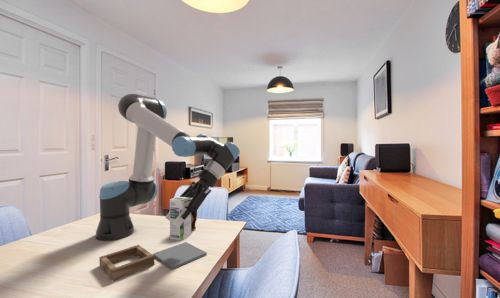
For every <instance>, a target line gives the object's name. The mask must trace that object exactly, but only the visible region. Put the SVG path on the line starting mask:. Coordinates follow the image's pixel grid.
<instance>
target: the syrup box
mask: <svg viewBox="0 0 500 298" xmlns="http://www.w3.org/2000/svg"><path fill="white" fill-rule="evenodd" d="M191 199H192V198H187V197H180V196H175V197H173V198H170V199H169V212H170V221H169V239H170V240H172V239H173V240H177V241H184V240H186V239H187V238H189V237H190V236H191V235H192V231H191V213H190V214H189V216H188V217H187V218H186V219H185V221H184V222H183V223H182V224H181V226H180V227H179V228H177V227H176V226H175V225H173V224H172V223H173V222H174V220H175V219H176V218H177V217H178V216H179V214H180V213H181V212H182V211H183V210H184V208H185V207H186V206H188V205H189V203H190V201H191ZM185 209H186V208H185Z"/></svg>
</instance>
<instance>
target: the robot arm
mask: <svg viewBox="0 0 500 298" xmlns="http://www.w3.org/2000/svg"><path fill="white" fill-rule="evenodd" d="M117 107H118V112H119V114H120V115H121V116H122V117H123V118H124V119H125V120H126V121H128V122H129V123H132V124H135V125H136V127H137V133H136V141H135V152H134V159H133V170H132V174H131V175H130V176H129V177H128V181H127V180H119V181H112V182H109V183H106V184H103V185H102V186H101V188H100V189H99V195H98V196H99V197H98V198H99V217H100V218H99V222H98V224H97V228H96V231H95V238H96V239H97V240H99V241H114V240H119V239H123V238H125V237H128V236H131V235H132V234H133V233H134V231H135V226H134V224H133V221H132V217H131V215H130V208H133V207H136V206H140V205H142V204H143V205H144V204H147V203H149V202H152V201H154V199H156V197H157V195H158V191H159V188H158V185H157V181H155V177H154V176H152V173H153V171H152V170H153V163H154V155H155V154H154V153H155V145H156V139H157V138H158V139H160V140H161V141H162V142H164V143H166V144H167V145H168V146H170V147H171V149H172V152H173V154H174V155H175V156H177V157H183V158H188V157H196V156H207V157H208V158H210V159H211V160H209V162H208V163H207V164H206V165H205V167H204V169H202V170H201V172H200V173H199V174H198V180H197V182H195V181H192V182H191V183H190V184H189V186H188V187H187V188H186V189H185V190H184V191H183V192H182V193H181V194H180V195H179V197H187V198H191V201H190V203H189V205H188V206H186V207H185V208H186V209H185V208H184V210H183V211H182V212H181V213H180V214H179V216H178V217H177V218H176V219H175V220H174V222H173V223H172V224H173V225H175V226H176V227H177V228H179V227H180V226H181V224H182V223H183V222H184V221H185V219H186V218H187V217H188V216H189V214H190V213H192V212H194V213H195V212H196V211H197V212H198V210H199V208H200V207H201V205H202V204H203V202H204V201H205V200H206V198H207V196H208V195H209V194H210V193H211V192H212V189H210V188H214V187H215V186H216V184H217V183H218V182H219V180H220V179H221V178H223V177H224V174H225V173H226V172H227V170H228V169H229V168H230V167H231V166H232V165H233V163H234V162H235V161H236V160H237V159H238V157H239V155H240V154H241V153H240V148H239V147H238V145H236V144H234V142H232V141H226V142H225V143H224V144H223V143H221V142H219V141H218V140H215V138H212V137H211V136H210V135H207V134H205V133H200V134H197V135H196V136H192V135H190V134H189V133H186V131H184V130H182V129H180V128H179V127H177V126H175V124H172V123H171V122H169V121H167V120H166V117H167V113H168V112H167V107H166V105H165V103H164V102H163V101H162V100H161V99H158V98H156V97H151V96H146V95H142V94H136V93H129V94H126V95H123V96H122V97H121V98H120V100H119V101H118V105H117ZM164 218H165V219H167V221H169V222H170V211H169V212H168V213H167V214H166V215H165V217H164Z"/></svg>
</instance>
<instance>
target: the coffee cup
mask: <svg viewBox="0 0 500 298" xmlns="http://www.w3.org/2000/svg"><path fill="white" fill-rule="evenodd" d="M197 217H198V210H197V211H196V212H195V213H194V212H192V213H191V232H192V231H196V229H197V227H196V223H197V220H198V218H197Z"/></svg>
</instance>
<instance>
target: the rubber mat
mask: <svg viewBox="0 0 500 298" xmlns="http://www.w3.org/2000/svg"><path fill="white" fill-rule="evenodd" d="M207 254H208V253H207V252H206V251H204V250H203V249H201V248H198V247H196V246H195V245H192V244H191V243H189V242H187V241H184V242H182V243H179V244H176V245H174V246H171V247H168V248H165V249H163V250H160V251H159V250H158V251H157V252H154V253H152V255H154V259H155V258H156V259H157V260H158V261H159V262H161V264H164V265H165V266H167V267H168V268H170V269H171V270H175V269H177V268H179V267H182V266H184V265H186V264H189V263H191V262H193V261H195V260H198V259H200V258H203V257H204V256H207Z"/></svg>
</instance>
